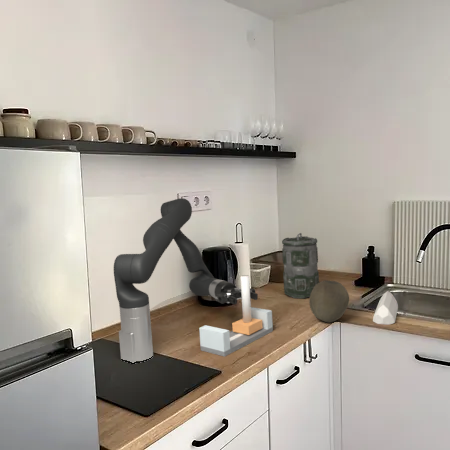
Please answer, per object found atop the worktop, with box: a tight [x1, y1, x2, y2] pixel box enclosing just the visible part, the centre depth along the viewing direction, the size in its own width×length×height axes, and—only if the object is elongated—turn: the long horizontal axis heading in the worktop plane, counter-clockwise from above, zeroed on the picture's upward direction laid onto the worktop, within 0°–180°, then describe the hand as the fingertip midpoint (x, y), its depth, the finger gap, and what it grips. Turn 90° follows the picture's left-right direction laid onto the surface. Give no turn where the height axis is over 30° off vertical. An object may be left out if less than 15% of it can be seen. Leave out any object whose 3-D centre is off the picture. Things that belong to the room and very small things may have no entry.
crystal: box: [372, 290, 399, 326], centre depth 174 cm, size 7×7×24 cm
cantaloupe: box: [309, 280, 350, 323], centre depth 171 cm, size 14×14×15 cm
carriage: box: [231, 274, 263, 335], centre depth 160 cm, size 8×7×19 cm
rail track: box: [199, 306, 274, 358], centre depth 157 cm, size 27×10×8 cm, turn 141°
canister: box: [281, 232, 320, 300], centre depth 210 cm, size 16×16×28 cm
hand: (246, 299), depth 160 cm, fingers open, 8 cm apart
